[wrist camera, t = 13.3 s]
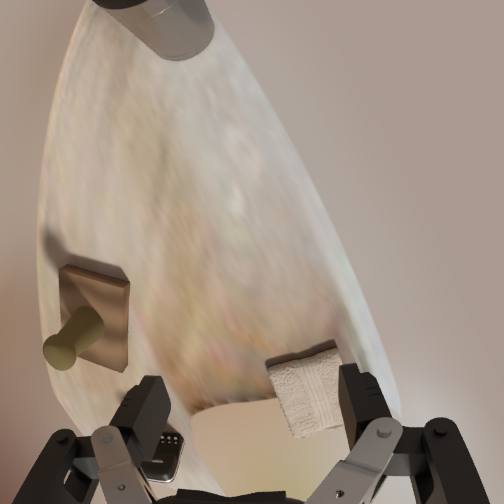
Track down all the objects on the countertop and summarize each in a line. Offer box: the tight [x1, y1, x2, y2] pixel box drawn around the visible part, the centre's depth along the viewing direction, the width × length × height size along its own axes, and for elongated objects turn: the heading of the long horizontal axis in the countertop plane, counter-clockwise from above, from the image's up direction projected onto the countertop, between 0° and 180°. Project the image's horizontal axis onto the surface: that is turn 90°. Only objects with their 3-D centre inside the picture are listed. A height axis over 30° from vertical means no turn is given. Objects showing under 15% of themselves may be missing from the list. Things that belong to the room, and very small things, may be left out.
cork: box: [43, 306, 105, 371], centre depth 39 cm, size 6×6×11 cm
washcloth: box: [267, 348, 345, 438], centre depth 47 cm, size 12×18×3 cm, turn 20°
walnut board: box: [59, 264, 130, 373], centre depth 46 cm, size 16×12×2 cm
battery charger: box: [140, 433, 185, 483], centre depth 48 cm, size 7×4×11 cm, turn 97°
